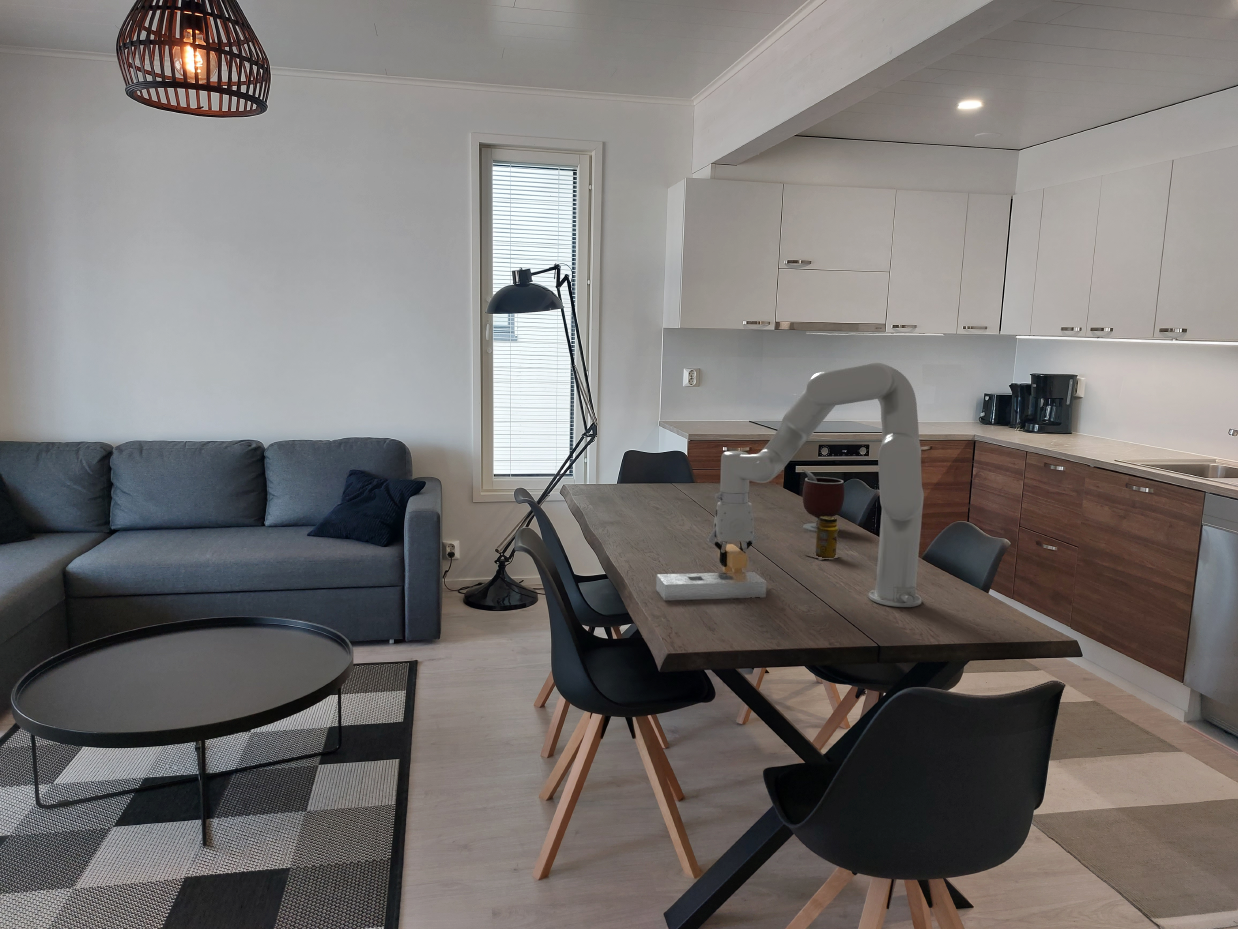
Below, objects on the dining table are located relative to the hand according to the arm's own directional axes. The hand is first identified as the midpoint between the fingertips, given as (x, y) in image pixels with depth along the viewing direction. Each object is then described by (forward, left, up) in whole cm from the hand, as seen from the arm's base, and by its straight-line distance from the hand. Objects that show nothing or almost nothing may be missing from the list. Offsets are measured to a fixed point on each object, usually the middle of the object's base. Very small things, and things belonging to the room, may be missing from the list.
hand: (732, 564), depth 227 cm
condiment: (+21, -36, -4) cm, 42 cm away
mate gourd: (+58, -51, -4) cm, 77 cm away
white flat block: (-12, +9, -4) cm, 16 cm away
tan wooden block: (0, 0, -3) cm, 3 cm away
